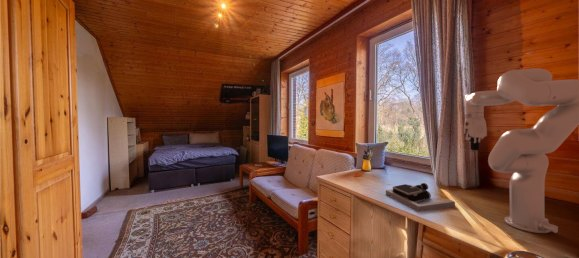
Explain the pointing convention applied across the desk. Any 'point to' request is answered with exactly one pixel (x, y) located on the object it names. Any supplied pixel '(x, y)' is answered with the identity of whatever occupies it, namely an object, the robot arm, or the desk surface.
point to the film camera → (413, 192)
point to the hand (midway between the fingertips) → (474, 149)
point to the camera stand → (421, 206)
